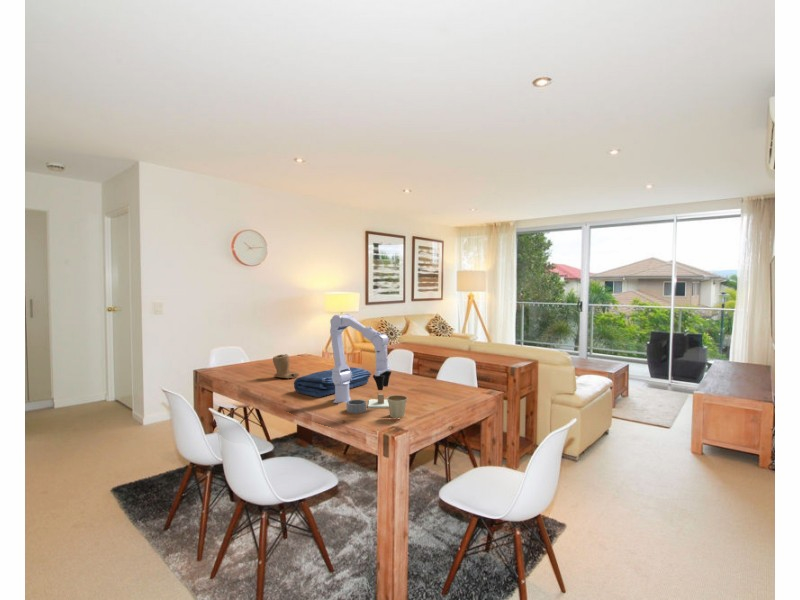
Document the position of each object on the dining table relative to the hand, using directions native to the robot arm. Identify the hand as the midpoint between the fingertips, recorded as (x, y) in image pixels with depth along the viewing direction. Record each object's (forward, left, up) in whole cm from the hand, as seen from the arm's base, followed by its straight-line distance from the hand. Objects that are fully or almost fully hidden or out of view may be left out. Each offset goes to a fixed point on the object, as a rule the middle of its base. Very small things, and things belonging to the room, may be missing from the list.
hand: (383, 388), depth 202 cm
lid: (-5, -1, -9) cm, 10 cm away
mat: (-5, -1, -10) cm, 11 cm away
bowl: (+5, -12, -10) cm, 16 cm away
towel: (-42, -30, -10) cm, 53 cm away
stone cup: (-68, -65, -10) cm, 95 cm away
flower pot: (+13, +7, -10) cm, 18 cm away
